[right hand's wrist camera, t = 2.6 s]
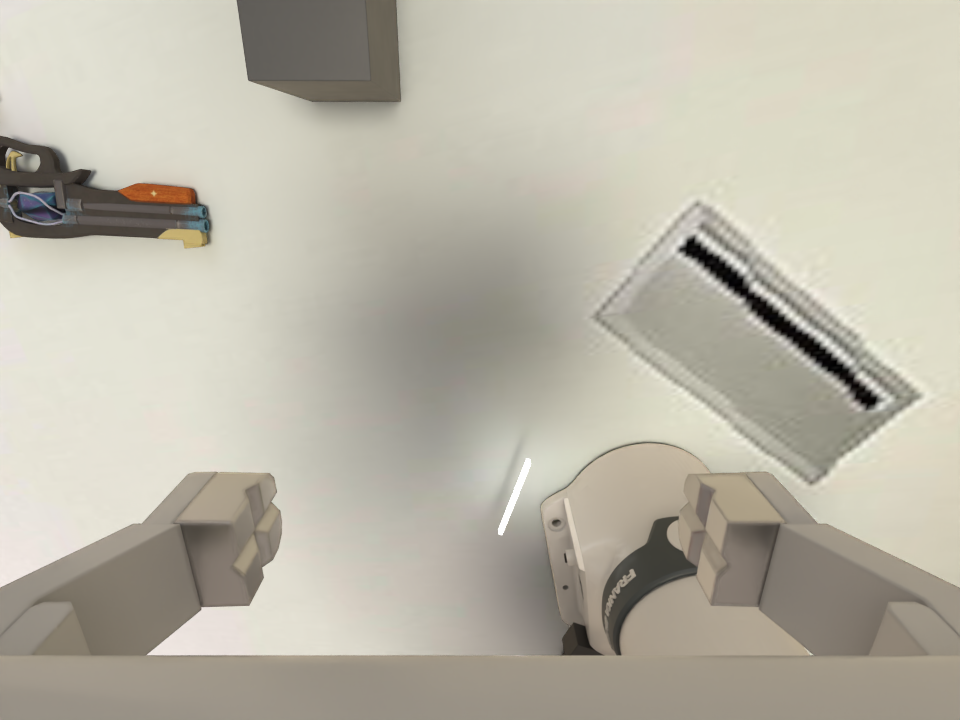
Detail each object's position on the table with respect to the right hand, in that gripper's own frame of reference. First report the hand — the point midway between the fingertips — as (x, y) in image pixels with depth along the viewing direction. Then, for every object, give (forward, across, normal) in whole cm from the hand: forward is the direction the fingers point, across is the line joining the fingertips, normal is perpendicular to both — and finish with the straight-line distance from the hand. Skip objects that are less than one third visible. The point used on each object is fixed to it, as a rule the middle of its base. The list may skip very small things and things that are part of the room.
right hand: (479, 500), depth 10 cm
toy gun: (+32, -30, +5) cm, 44 cm away
